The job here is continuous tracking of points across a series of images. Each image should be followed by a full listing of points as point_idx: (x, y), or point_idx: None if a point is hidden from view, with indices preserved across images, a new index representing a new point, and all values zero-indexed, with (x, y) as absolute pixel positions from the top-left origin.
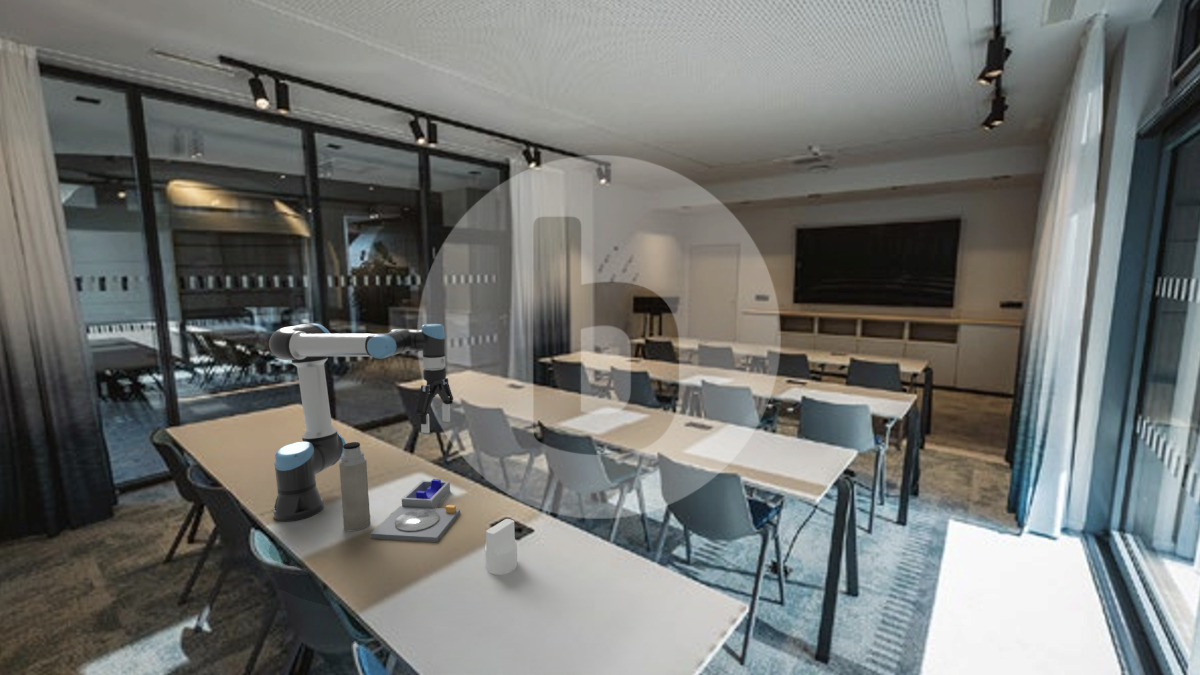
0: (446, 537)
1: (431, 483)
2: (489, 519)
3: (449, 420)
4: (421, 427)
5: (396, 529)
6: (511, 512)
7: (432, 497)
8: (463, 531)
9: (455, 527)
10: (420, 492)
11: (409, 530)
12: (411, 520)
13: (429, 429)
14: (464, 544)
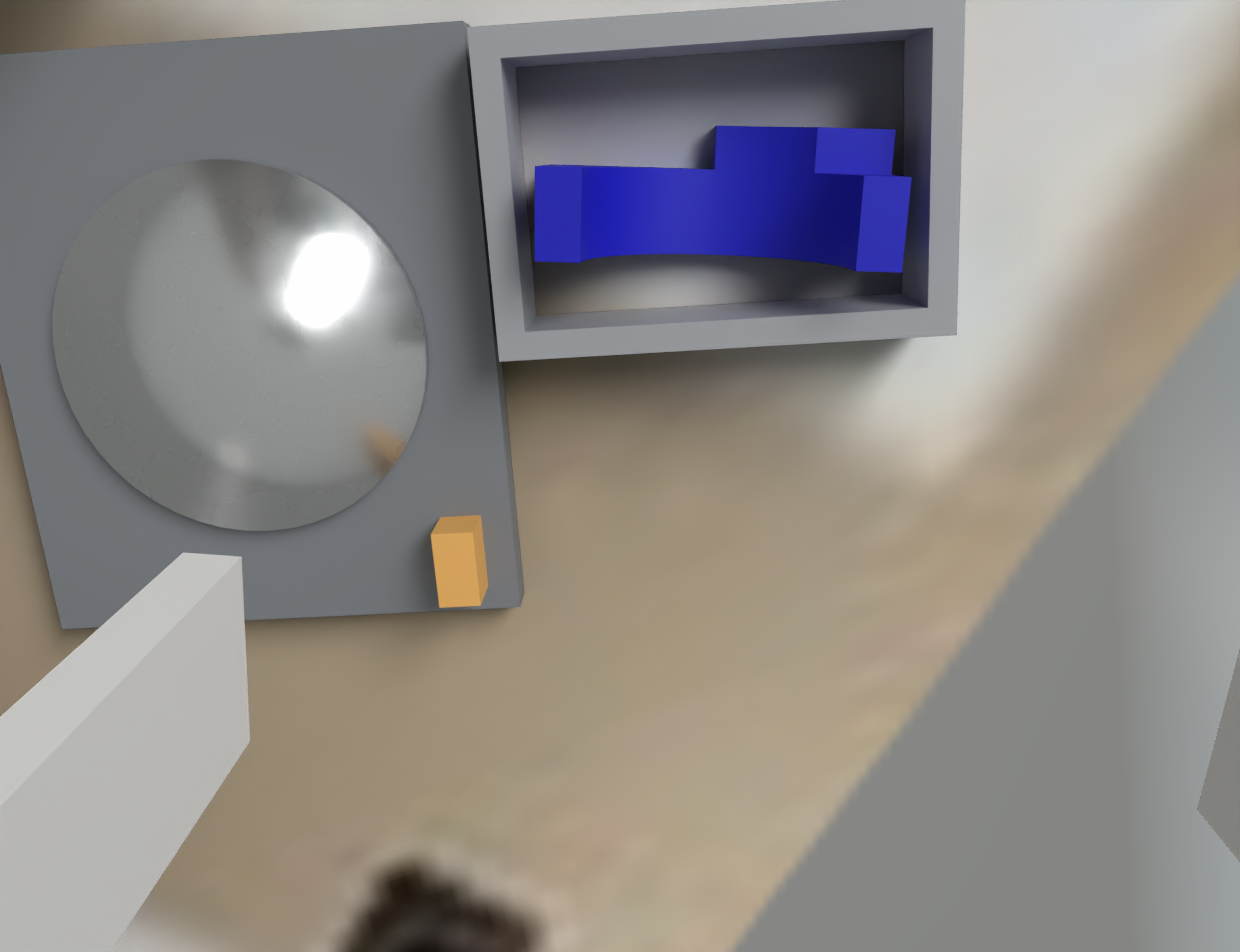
0: None
1: (853, 176)
2: (479, 832)
3: (1236, 830)
4: (114, 623)
5: (65, 253)
6: (614, 939)
7: (560, 340)
8: (268, 725)
9: (306, 648)
10: (541, 217)
11: (65, 384)
12: (204, 317)
13: (215, 789)
14: None
